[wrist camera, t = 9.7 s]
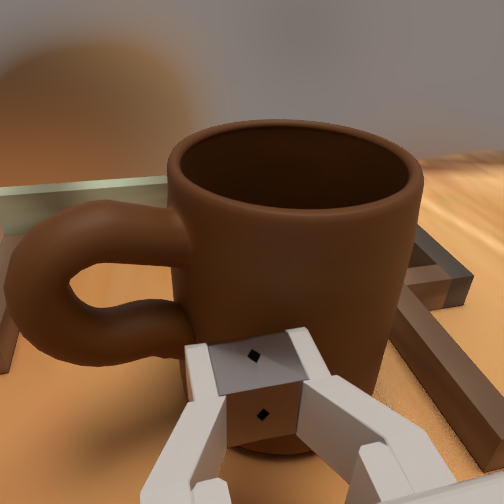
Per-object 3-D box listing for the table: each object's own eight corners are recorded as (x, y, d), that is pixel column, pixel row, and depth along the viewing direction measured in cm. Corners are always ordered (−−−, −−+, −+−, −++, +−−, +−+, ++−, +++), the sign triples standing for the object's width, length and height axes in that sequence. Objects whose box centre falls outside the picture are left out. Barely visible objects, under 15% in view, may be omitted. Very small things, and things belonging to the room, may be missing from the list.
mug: (94, 592, 12) (-8, 328, 7) (43, 390, 17) (-35, 158, 12) (413, 407, 17) (492, 179, 12) (298, 296, 23) (318, 106, 17)
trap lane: (-283, 665, 10) (-418, 593, 8) (-57, 261, 24) (-85, 193, 22) (599, 443, 16) (658, 365, 14) (377, 216, 30) (388, 159, 28)
